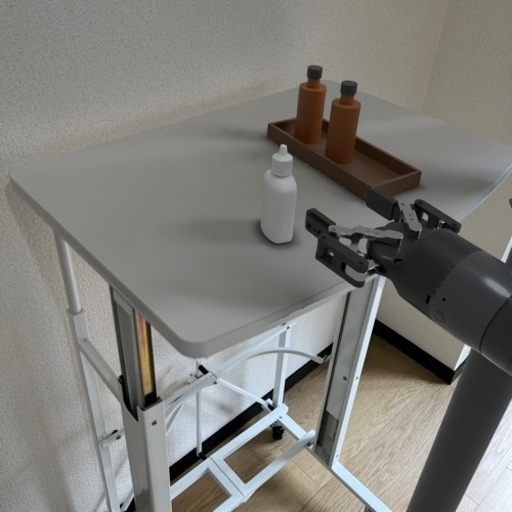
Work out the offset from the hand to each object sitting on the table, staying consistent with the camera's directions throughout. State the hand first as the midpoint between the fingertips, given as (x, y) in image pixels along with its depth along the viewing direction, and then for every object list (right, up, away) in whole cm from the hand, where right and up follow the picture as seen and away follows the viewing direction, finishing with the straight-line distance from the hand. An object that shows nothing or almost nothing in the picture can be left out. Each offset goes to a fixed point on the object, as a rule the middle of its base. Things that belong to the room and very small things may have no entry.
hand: (339, 205), depth 58 cm
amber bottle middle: (+4, +11, +30) cm, 32 cm away
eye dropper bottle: (-6, -2, +12) cm, 14 cm away
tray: (+4, +10, +30) cm, 32 cm away
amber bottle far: (0, +15, +35) cm, 38 cm away
